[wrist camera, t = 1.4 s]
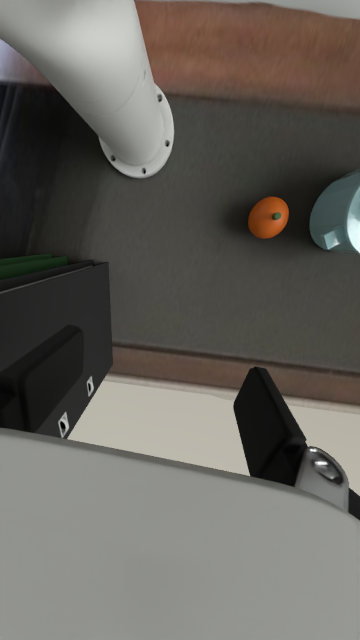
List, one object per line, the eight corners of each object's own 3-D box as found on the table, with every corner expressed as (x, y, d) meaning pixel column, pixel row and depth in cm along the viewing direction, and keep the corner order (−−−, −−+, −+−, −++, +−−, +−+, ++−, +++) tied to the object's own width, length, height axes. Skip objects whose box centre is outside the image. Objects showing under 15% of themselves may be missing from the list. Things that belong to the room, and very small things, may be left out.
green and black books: (46, 253, 40) (-338, 294, 11) (114, 263, 40) (-86, 331, 11) (61, 356, 51) (-110, 514, 22) (115, 364, 51) (15, 532, 22)
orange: (243, 204, 35) (256, 196, 28) (279, 196, 34) (301, 186, 27) (245, 241, 37) (257, 242, 30) (278, 234, 36) (298, 234, 30)
